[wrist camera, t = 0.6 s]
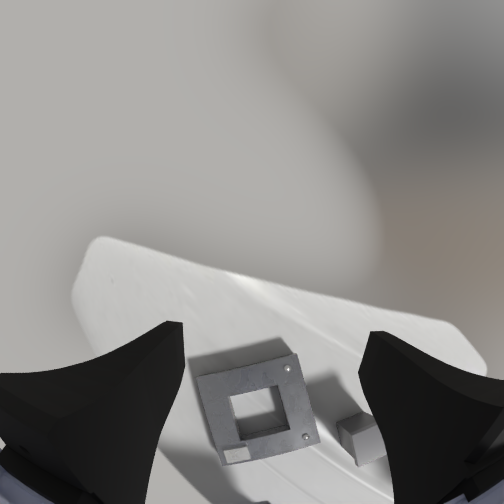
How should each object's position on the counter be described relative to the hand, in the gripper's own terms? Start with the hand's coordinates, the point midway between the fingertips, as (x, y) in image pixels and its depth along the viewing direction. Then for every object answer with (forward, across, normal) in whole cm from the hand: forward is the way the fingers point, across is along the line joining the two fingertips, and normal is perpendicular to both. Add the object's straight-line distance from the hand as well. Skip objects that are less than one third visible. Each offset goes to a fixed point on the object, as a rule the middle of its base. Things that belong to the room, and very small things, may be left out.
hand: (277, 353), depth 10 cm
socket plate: (+16, -1, +20) cm, 25 cm away
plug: (+14, -14, +22) cm, 30 cm away
